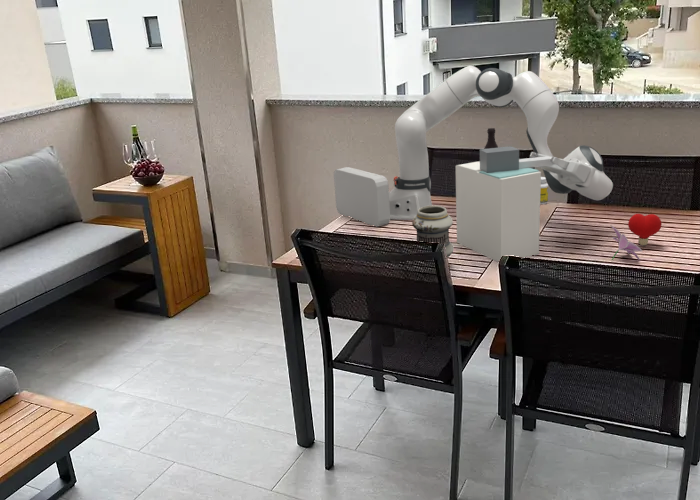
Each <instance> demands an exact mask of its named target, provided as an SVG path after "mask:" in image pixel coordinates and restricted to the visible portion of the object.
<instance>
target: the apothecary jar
mask: <svg viewBox="0 0 700 500" xmlns="http://www.w3.org/2000/svg"><path fill="white" fill-rule="evenodd" d="M453 222H454V220H453V218H452V216H450V214H448V210H447V208H446V207H445V206H442V205H433V204H432V206H424V207H421V208H419V209H418V212H417V216H415V217H414V219H413V220H412V223H411V224H412V227H413V228H414V229H415V231H416V242H417V241H423V242H439V243H444V244H445V247H446V254H447V258H449V257H450V256H451V255H452V254H453V253H454V251H455V250H454V244H453V243H452V242H451V241H450V235H449V229H450V228H451V227H452V225H453ZM449 267H450V268H451V264H450V263H449Z"/></svg>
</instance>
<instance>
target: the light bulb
mask: <svg viewBox="0 0 700 500" xmlns="http://www.w3.org/2000/svg"><path fill="white" fill-rule="evenodd" d="M627 226H628V229H629V230H630V231H631V233H632V234H634V235H636V236H637V237H638V244H639V245H640V246H641V247H645V246H647V245H648V244H649V238H651V236H654V235H655V234H657V233H658V232H659V231H660V230H661V228H662V220H661V219H660V217H659V216H658V215H657V214H654V213H650V214H646V215H644V214H641V213H635V214H633V215H632V216H631V217H630V218H629V220H628V222H627Z"/></svg>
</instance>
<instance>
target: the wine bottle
mask: <svg viewBox="0 0 700 500" xmlns="http://www.w3.org/2000/svg"><path fill="white" fill-rule="evenodd" d="M486 132H487V140H486V141H487V142H486V144H485V145H484V147H483V149H489V148H499V146H498V144H497V142H496V136H495V135H496V128H495V127H489V128H487V130H486Z"/></svg>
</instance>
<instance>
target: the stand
mask: <svg viewBox="0 0 700 500" xmlns="http://www.w3.org/2000/svg"><path fill="white" fill-rule="evenodd" d="M541 177H542V171H539V169H537V168H536V169H535V168H533V167H532V168H522V169H519V170H511V171H501V172H492V173H486V172H484V171H482V170H481V169H480V160H479V161H473V162H468V163H463V164H462V163H461V164H456V165H455V205H456V207H455V211H456V218H455V221H456V243H457V244H459V245H462V246H464V247H466V248H468V249H470V250H473V251H474V252H476V253H478V254H481V255H483V256H485V257H487V258H489V259H491V260H493V261H495V262H497V263H499V262H498V261H499V260H500V258H501V257H502V256H504V255H514V256H519V257H526V258H528V257H527V256H530V257H532V255H534V256H537V255H540V227H541V226H540V225H541V224H540V222H541V221H540V220H541V204H540V191H541Z"/></svg>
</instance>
